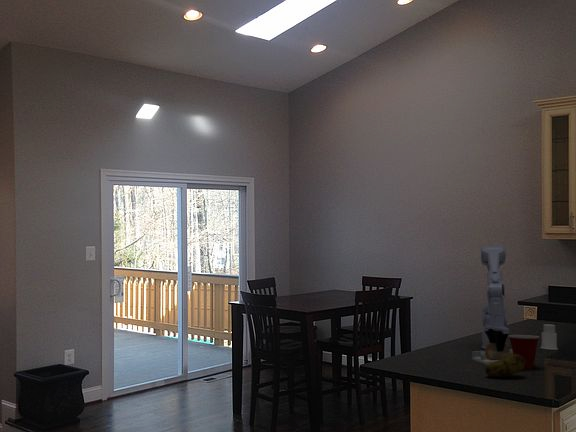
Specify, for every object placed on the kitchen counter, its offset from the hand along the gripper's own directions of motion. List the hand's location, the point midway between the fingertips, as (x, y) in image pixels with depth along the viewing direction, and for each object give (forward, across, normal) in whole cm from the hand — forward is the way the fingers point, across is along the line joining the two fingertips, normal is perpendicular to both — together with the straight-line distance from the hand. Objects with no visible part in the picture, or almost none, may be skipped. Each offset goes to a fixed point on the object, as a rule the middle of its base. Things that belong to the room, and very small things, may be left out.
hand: (497, 350), depth 244 cm
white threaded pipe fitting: (+4, -18, +34) cm, 39 cm away
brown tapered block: (+3, 0, 0) cm, 3 cm away
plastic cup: (+4, +14, +3) cm, 15 cm away
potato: (+4, +24, -11) cm, 27 cm away
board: (+4, -2, +2) cm, 5 cm away
